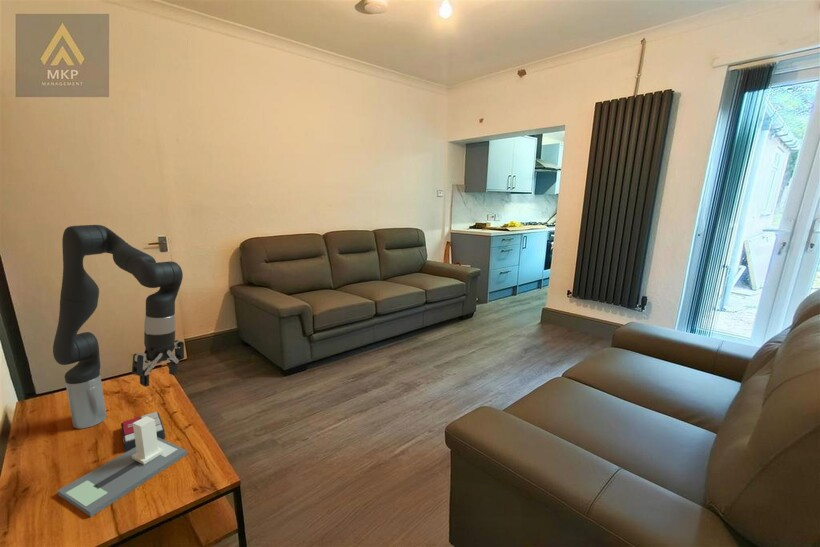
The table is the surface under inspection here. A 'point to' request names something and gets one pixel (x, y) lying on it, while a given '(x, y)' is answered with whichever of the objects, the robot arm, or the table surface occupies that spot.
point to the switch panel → (117, 478)
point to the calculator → (129, 430)
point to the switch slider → (146, 440)
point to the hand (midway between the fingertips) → (159, 379)
